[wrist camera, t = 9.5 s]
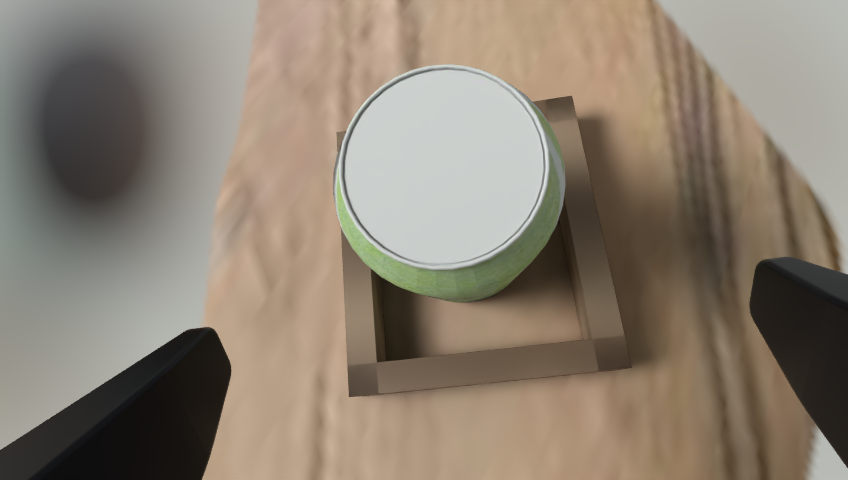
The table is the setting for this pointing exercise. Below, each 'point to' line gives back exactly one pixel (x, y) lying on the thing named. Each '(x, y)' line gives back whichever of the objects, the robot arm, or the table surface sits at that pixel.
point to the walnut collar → (588, 355)
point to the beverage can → (449, 182)
